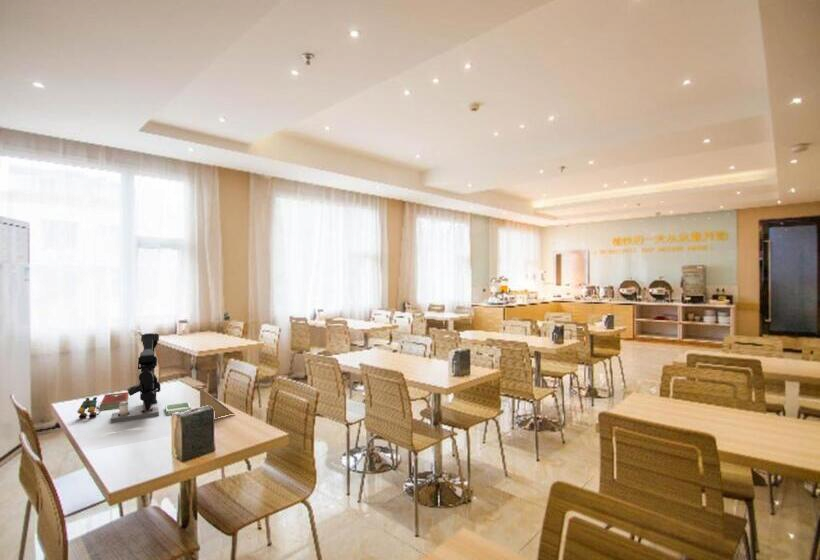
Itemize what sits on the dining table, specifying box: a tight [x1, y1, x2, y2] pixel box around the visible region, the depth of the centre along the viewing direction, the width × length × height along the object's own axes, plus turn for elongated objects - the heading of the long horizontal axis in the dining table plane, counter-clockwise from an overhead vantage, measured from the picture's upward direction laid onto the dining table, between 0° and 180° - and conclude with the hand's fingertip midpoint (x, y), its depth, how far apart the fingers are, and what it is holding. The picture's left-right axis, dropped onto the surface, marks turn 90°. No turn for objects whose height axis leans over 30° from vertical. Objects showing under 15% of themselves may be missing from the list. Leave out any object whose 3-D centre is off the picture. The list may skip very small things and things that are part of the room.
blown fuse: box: [142, 401, 152, 413], centre depth 218 cm, size 4×4×8 cm
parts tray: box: [164, 401, 192, 416], centre depth 226 cm, size 12×11×2 cm
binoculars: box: [76, 396, 102, 419], centre depth 216 cm, size 9×9×10 cm
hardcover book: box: [99, 391, 130, 411], centre depth 239 cm, size 12×21×4 cm, turn 31°
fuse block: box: [110, 406, 160, 424], centre depth 216 cm, size 10×20×2 cm, turn 123°
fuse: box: [118, 400, 129, 416], centre depth 213 cm, size 4×4×8 cm
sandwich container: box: [199, 388, 235, 418], centre depth 218 cm, size 9×15×15 cm, turn 133°
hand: (147, 408), depth 218 cm, fingers open, 6 cm apart
